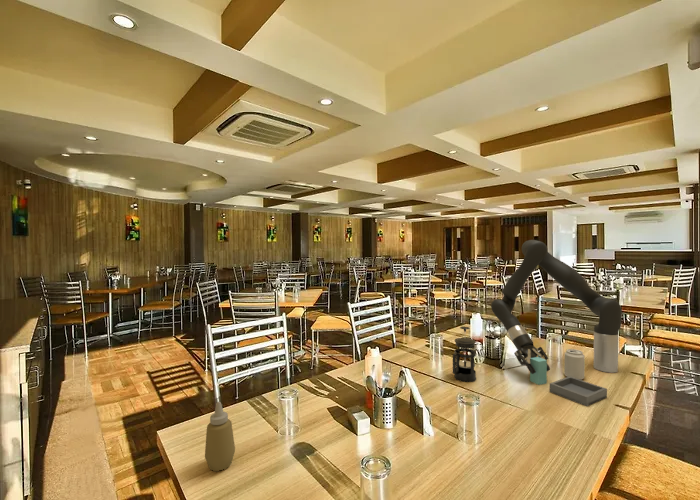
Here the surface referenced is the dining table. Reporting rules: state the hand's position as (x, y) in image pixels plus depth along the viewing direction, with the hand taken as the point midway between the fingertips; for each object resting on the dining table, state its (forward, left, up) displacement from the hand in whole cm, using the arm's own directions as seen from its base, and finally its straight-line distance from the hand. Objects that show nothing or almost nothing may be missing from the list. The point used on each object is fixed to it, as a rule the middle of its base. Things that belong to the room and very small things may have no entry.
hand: (541, 371), depth 147 cm
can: (-18, +4, -5) cm, 19 cm away
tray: (-2, +14, -5) cm, 15 cm away
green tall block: (0, -1, -5) cm, 5 cm away
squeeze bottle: (+128, -12, -5) cm, 128 cm away
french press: (+24, -20, -5) cm, 32 cm away
